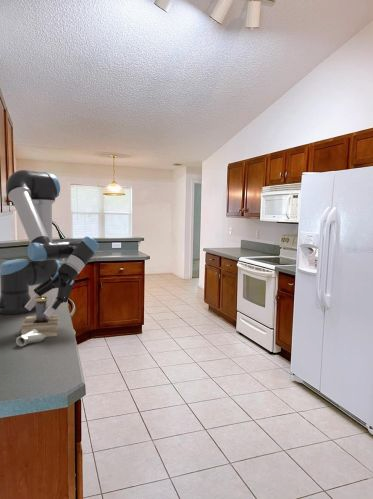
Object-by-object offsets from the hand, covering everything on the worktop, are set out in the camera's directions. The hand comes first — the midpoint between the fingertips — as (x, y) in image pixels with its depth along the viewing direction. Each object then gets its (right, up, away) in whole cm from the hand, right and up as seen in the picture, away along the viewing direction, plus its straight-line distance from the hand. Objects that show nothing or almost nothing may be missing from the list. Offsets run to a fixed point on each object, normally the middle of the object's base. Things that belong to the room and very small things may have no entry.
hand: (36, 312), depth 131 cm
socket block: (+1, -8, +2) cm, 8 cm away
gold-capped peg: (+1, -8, +2) cm, 8 cm away
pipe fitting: (+3, -9, -10) cm, 14 cm away
